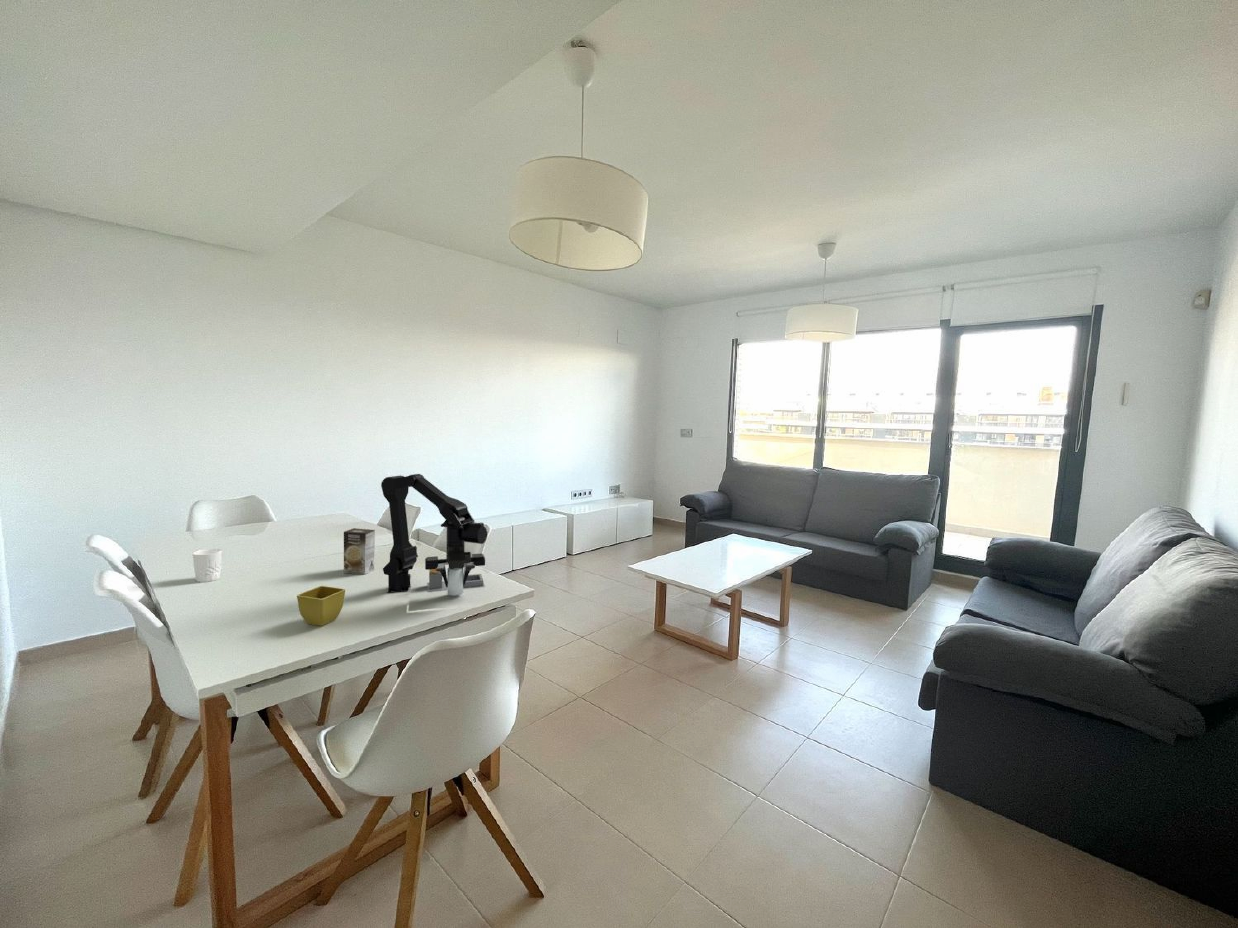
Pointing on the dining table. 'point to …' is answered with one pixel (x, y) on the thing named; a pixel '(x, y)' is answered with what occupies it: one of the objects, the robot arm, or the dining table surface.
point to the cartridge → (455, 581)
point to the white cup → (207, 564)
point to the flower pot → (321, 604)
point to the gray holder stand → (439, 585)
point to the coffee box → (359, 551)
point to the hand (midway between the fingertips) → (455, 586)
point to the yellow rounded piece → (434, 571)
